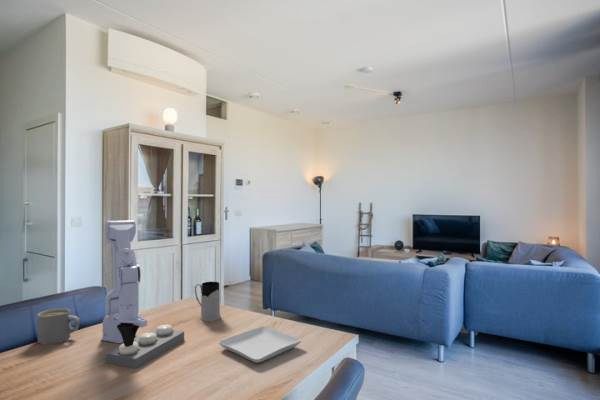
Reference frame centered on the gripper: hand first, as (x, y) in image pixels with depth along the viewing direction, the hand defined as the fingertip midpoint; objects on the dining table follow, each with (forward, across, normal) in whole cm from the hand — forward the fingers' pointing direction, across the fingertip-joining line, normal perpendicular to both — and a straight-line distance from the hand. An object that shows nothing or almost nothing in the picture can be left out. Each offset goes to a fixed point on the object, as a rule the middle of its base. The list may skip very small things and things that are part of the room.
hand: (128, 345), depth 117 cm
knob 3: (+5, +2, -17) cm, 18 cm away
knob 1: (+5, 0, 0) cm, 5 cm away
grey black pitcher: (+5, +8, -45) cm, 46 cm away
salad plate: (+6, -32, -28) cm, 43 cm away
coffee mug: (+5, +38, 0) cm, 39 cm away
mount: (+5, +1, -8) cm, 10 cm away
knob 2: (+5, +1, -8) cm, 10 cm away
